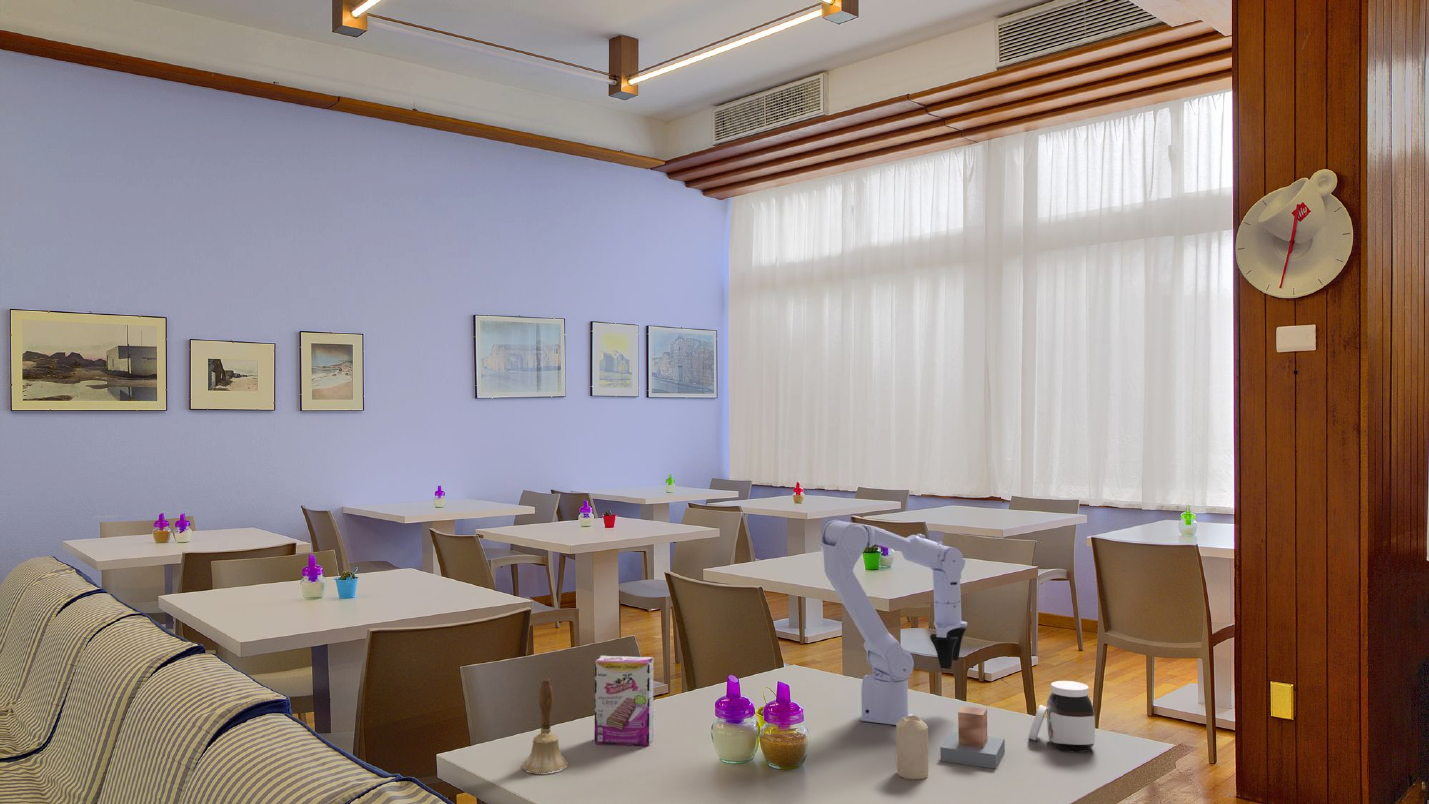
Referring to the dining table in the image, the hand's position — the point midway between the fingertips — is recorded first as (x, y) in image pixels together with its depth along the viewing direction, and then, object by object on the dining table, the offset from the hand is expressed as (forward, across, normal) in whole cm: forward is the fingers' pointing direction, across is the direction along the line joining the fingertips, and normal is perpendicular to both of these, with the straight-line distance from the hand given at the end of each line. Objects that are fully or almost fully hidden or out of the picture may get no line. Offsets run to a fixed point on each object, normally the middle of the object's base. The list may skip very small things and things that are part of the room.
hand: (949, 664), depth 205 cm
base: (+10, -26, -9) cm, 30 cm away
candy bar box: (+9, -46, +54) cm, 72 cm away
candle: (+10, -41, -1) cm, 42 cm away
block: (+8, -26, -10) cm, 29 cm away
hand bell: (+9, -64, +60) cm, 89 cm away
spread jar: (+11, -13, -23) cm, 29 cm away
